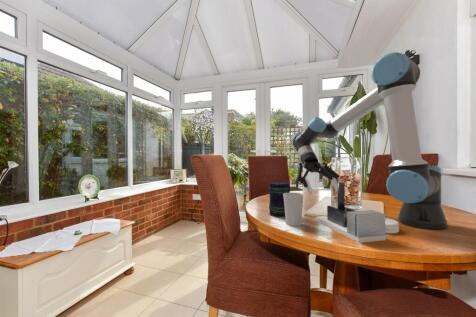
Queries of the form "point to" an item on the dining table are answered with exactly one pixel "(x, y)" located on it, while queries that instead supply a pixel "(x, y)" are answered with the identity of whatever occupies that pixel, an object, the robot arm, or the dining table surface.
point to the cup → (293, 208)
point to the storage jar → (277, 198)
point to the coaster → (391, 226)
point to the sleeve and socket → (358, 221)
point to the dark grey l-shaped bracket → (341, 197)
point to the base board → (344, 231)
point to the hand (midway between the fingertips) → (325, 192)
